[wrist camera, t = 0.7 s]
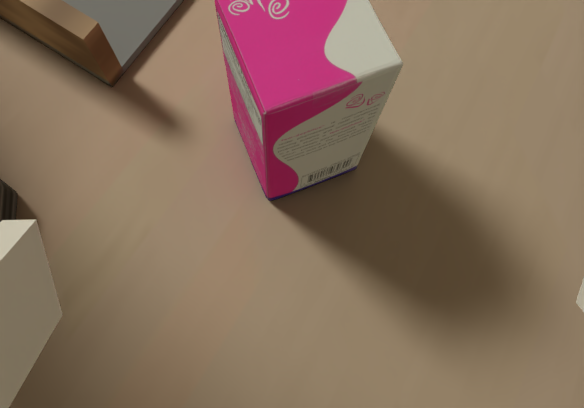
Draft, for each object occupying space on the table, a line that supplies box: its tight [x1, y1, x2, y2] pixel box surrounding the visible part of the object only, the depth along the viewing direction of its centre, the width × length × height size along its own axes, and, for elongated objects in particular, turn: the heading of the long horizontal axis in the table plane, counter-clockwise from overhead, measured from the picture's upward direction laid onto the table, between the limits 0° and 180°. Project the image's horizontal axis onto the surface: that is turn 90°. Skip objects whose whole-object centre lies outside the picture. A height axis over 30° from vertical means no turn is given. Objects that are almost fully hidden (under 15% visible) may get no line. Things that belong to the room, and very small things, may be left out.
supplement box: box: [215, 0, 403, 201], centre depth 25 cm, size 6×6×12 cm
